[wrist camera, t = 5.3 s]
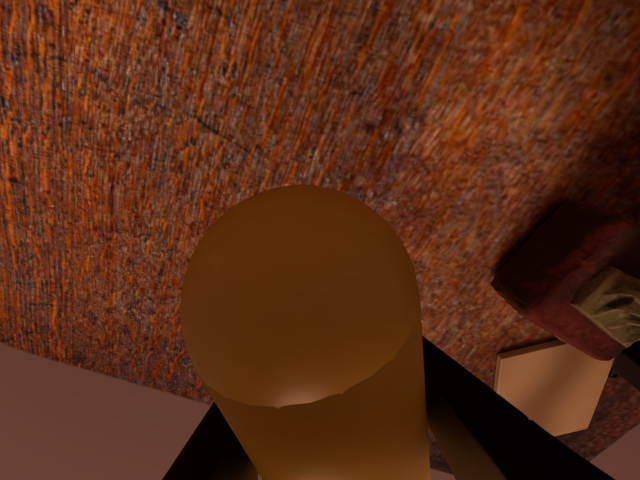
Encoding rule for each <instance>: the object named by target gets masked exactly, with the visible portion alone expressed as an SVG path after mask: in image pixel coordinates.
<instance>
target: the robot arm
mask: <svg viewBox="0 0 640 480" xmlns="http://www.w3.org/2000/svg"><path fill="white" fill-rule="evenodd" d="M422 341H423V358H424V376H425V393H426V410H427V422H428V424H429V426H430V428H431V430H432V432H433V434H434V436H435V438H436V440H437V442H438V444H439V446H440V448H441V450H442V452H443V454H444V456H445V458H446V460H447V462H448V465H449V467H450V469H451V471H452V473H453V475H454V477H455V479H456V480H615V479H613V478H612V477H610V476H609V475H608V474H606V473H605V472H603V471H602V470H600V469H599V468H597V467H596V466H594V465H593V464H591V463H590V462H589V461H587V460H586V459H584V458H583V457H581V456H580V455H578V454H577V453H576V452H574V451H573V450H572V449H570V448H569V447H567V446H566V445H565V444H563V443H562V442H561V441H559V440H558V439H557V438H555V437H554V436H553V435H551V434H550V433H549V432H547V431H546V430H545V429H543V428H542V427H541V426H539V425H538V424H537V423H536V422H534V421H533V420H529V418H528V417H527V416H526V415H525V414H524V413H522V412H521V411H520V410H518V409H517V408H516V407H515V406H513V405H512V404H511V403H509V402H508V401H507V400H505V399H504V398H503V397H502V396H500V395H499V394H498V393H496V392H495V391H494V390H492V389H491V388H490V387H489V386H487V385H486V384H485V383H483V382H482V381H481V380H479V379H478V378H477V377H475V376H474V375H473V374H472V373H470V372H469V371H468V370H466V369H465V368H464V367H462V366H461V365H460V364H459V363H457V362H456V361H455V360H453V359H452V358H451V357H449V356H448V355H447V354H446V353H444V352H443V351H442V350H440V349H439V348H438V347H436V346H435V345H434V344H432V343H431V342H430V341H429V340H427V339H426V338H425V337H423V336H422ZM608 376H609V377H610V378H611V379H615V378H619V377H623V378H624V379H625V380H626V381H628V382H629V383H630V384H631V385H633V386H634V387H635V388H636V389H637V390H639V391H640V340H639V341H635V342H634V343H633V344H632V345H631V346H630V347H627V348H625V349H624V350H623V351H621V352H620V353H619V354H618V355H617V356H616V357H615V359H614V362H613V364H612V367H611V369H610V372H609V374H608ZM162 480H258V471H257V470H256V468H255V467H254V465H253V463H252V462H251V460H250V458H249V457H248V455H247V454H246V452H245V450H244V449H243V447H242V445H241V444H240V442H239V440H238V439H237V437H236V436H235V434H234V432H233V431H232V429H231V427H230V426H229V424H228V423H227V421H226V419H225V418H224V416H223V414H222V413H221V411H220V409H219V408H218V406H217V405H216V403H215V401H214V403H213V404H212V406H211V407H210V409H209V410H208V412H207V413H206V415H205V416H204V418H203V419H202V421H201V422H200V424H199V425H198V427H197V428H196V430H195V431H194V433H193V434H192V436H191V437H190V439H189V440H188V442H187V443H186V445H185V446H184V448H183V450H182V451H181V452H180V454H179V455H178V457H177V458H176V460H175V461H174V463H173V464H172V466H171V467H170V469H169V470H168V472H167V473H166V475H165V476H164V478H163V479H162Z"/></svg>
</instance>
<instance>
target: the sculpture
mask: <svg viewBox="0 0 640 480" xmlns="http://www.w3.org/2000/svg"><path fill="white" fill-rule="evenodd" d="M491 286H492V287H493V288H494V289H495V290H496V291H497V292H498V294H499V295H500V296H501V297H503V298H504V299H505V300H506V301H507V303H509V304H510V305H511V306H512V307H513V308H514V309H515V310H516V311H517V312H518V313H519V314H521V315H522V316H524V317H525V318H526V319H528V320H530V321H532V322H533V323H535V324H536V325H538V326H540V327H542V328H543V329H544V330H546V331H547V332H549V333H551V334H552V335H554V336H555V337H557V338H559V339H560V340H562V341H564V342H565V343H567V344H569V345H571V346H572V347H574V348H576V349H578V350H580V351H582V352H584V353H585V354H587V355H589V356H590V357H592V358H594V359H597V360H600V361H610V360H611V359H613V358H615V357H616V356H617V355H618V354H619V353H620V352H621V351H623V350H624V349H625V348H627V347H630V346H631V345H632V344H633V343H634V342H635V341H639V340H640V228H639V227H638V226H637V225H636V224H634V223H633V222H632V221H631V220H629V219H628V218H626V217H625V216H623V215H622V214H620V213H615V212H613V211H610V210H608V209H605V208H602V207H599V206H595V205H592V204H588V203H586V202H583V201H580V200H575V199H569V200H566V201H564V202H563V203H562V204H561V205H559V207H558V208H557V210H556V211H555V213H554V214H553V215H552V216H551V217H550V218H549V219H548V220H547V221H545V222H544V223H542V224H541V225H540V227H539V228H538V229H537V230H535V231H534V232H533V234H532V235H531V236H530V237H529V239H528V240H527V241H526V242H525V243H524V244H523V245H522V246H521V248H520V249H519V250H518V251H517V252H516V253H515V254H514V255H513V256H512V257H511V258H510V259H509V261H508V262H507V263H506V264H504V265H503V267H502V270H501V271H500V273H499V274H497V275H496V276H495V278H494V280H493V281H492V282H491Z"/></svg>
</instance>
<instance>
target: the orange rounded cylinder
mask: <svg viewBox="0 0 640 480" xmlns="http://www.w3.org/2000/svg"><path fill="white" fill-rule="evenodd" d="M180 317H181V325H182V333H183V337H184V341H185V345H186V348H187V351H188V353H189V356H190V358H191V360H192V363H193V365H194V368H195V370H196V371H197V373H198V375H199V377H200V378H201V380H202V382H203V383H204V385H205V387H206V388H207V390H208V392H209V393H210V395H211V396H212V398H213V400H214V401H215V403H216V405H217V406H218V408H219V409H220V411H221V413H222V414H223V416H224V418H225V419H226V421H227V423H228V424H229V426H230V427H231V429H232V431H233V432H234V434H235V436H236V437H237V439H238V440H239V442H240V444H241V445H242V447H243V449H244V450H245V452H246V454H247V455H248V457H249V458H250V460H251V462H252V463H253V465H254V467H255V468H256V470H257V471H258V473H259V475H260V476H261V478H262V480H430V462H429V444H428V427H427V410H426V393H425V376H424V358H423V341H422V324H421V307H420V296H419V289H418V286H417V280H416V275H415V270H414V266H413V264H412V261H411V259H410V257H409V255H408V253H407V251H406V248H405V247H404V245H403V243H402V241H401V239H400V238H399V236H398V235H397V234H396V233H395V231H394V230H393V229H392V227H391V226H390V225H389V224H388V222H387V221H386V220H385V219H383V218H382V217H381V216H380V215H379V214H378V213H376V212H375V211H374V210H372V209H371V208H370V207H369V206H367V205H366V204H365V203H364V202H362V201H360V200H357V199H355V198H353V197H351V196H349V195H347V194H345V193H342V192H340V191H338V190H333V189H329V188H324V187H319V186H314V185H296V186H284V187H278V188H273V189H269V190H266V191H263V192H260V193H258V194H256V195H254V196H252V197H250V198H248V199H245V200H244V201H242V202H240V203H238V204H236V205H235V206H233V207H232V208H231V209H230V210H228V211H227V212H226V213H225V214H224V215H223V216H222V217H221V218H219V219H218V220H217V221H216V222H215V223H214V224H213V225H212V226H211V227H210V228H209V230H208V231H207V233H206V234H205V235H204V237H203V238H202V240H201V241H200V243H199V244H198V246H197V247H196V249H195V251H194V253H193V255H192V258H191V260H190V263H189V266H188V268H187V271H186V273H185V276H184V281H183V289H182V297H181V306H180Z"/></svg>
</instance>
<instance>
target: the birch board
mask: <svg viewBox="0 0 640 480" xmlns="http://www.w3.org/2000/svg"><path fill="white" fill-rule="evenodd" d="M614 359H615V358H613V359H611V360H610V361H600V360H597V359H594V358H592V357H590V356H589V355H587V354H585V353H584V352H582V351H580V350H578V349H576V348H574V347H572V346H571V345H569V344H567V343H565V342H564V341H562V340H560V339H559V340H555V341H550V342H546V343H542V344H537V345H533V346H529V347H525V348H520V349H516V350H512V351H508V352H503V353H499V354H497V361H496V370H495V380H494V389H493V390H494V391H495V392H496V393H498V394H499V395H500V396H502V397H503V398H504V399H505V400H507V401H508V402H509V403H511V404H512V405H513V406H515V407H516V408H517V409H518V410H520V411H521V412H522V413H524V414H525V415H526V416H527V417H528V418H529V420H533V421H534V422H536V423H537V424H538V425H539V426H541V427H542V428H543V429H545V430H546V431H547V432H549V433H550V434H551V435H553V436H557V435H562V434H566V433H570V432H575V431H579V430H583V429H587V428H588V426H589V423H590V421H591V418H592V416H593V413H594V410H595V408H596V405H597V403H598V400H599V398H600V395H601V392H602V390H603V387H604V385H605V382H606V380H607V377H608V374H609V372H610V369H611V367H612V364H613V362H614Z"/></svg>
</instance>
